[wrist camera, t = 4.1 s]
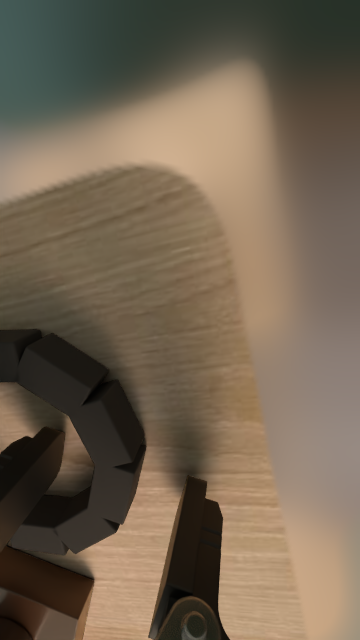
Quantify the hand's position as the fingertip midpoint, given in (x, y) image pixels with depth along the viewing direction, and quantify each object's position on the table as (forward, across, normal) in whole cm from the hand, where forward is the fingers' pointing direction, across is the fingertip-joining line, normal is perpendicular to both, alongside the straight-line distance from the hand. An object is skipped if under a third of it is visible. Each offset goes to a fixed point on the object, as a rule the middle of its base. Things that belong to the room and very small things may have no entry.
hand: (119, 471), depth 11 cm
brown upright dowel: (0, +3, +10) cm, 11 cm away
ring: (0, +4, 0) cm, 4 cm away
